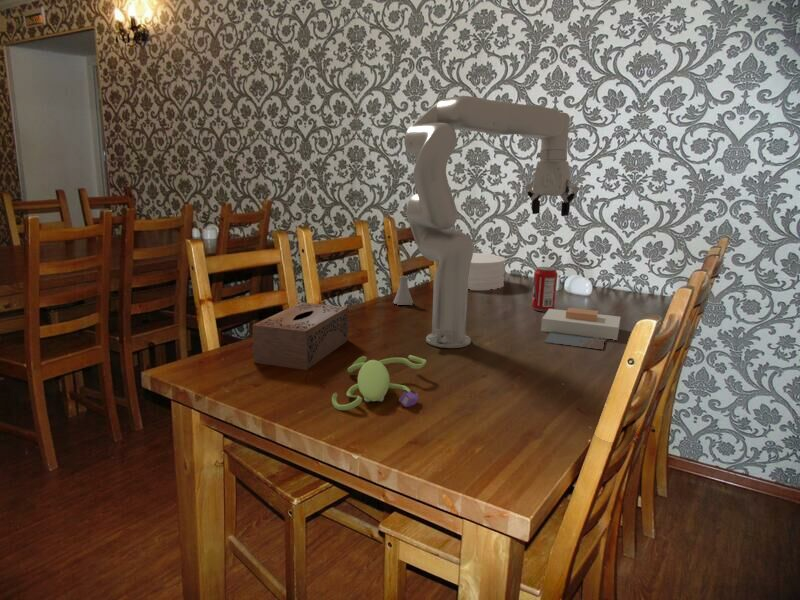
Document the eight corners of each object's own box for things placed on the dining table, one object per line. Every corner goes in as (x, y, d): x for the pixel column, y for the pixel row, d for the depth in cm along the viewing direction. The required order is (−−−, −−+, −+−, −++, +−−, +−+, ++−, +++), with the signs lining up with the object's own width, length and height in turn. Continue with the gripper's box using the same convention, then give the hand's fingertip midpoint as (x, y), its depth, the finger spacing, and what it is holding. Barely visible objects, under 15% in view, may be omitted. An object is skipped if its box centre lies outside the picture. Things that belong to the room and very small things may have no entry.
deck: (616, 340, 167) (618, 327, 166) (540, 331, 175) (541, 318, 174) (619, 329, 180) (620, 316, 179) (548, 320, 188) (549, 308, 187)
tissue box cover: (306, 371, 138) (305, 331, 135) (254, 363, 142) (252, 324, 139) (348, 341, 161) (348, 307, 159) (302, 335, 166) (301, 302, 163)
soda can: (545, 313, 196) (549, 270, 193) (527, 309, 202) (530, 267, 199) (558, 310, 202) (562, 268, 198) (540, 306, 207) (543, 265, 204)
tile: (596, 321, 172) (596, 315, 172) (565, 318, 175) (566, 311, 175) (597, 317, 177) (598, 310, 177) (568, 313, 181) (568, 307, 180)
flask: (416, 304, 206) (417, 276, 204) (406, 307, 200) (407, 279, 198) (400, 301, 210) (400, 274, 208) (389, 304, 204) (389, 277, 202)
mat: (603, 350, 157) (603, 349, 157) (544, 342, 164) (544, 341, 163) (606, 339, 168) (606, 338, 168) (550, 332, 174) (550, 331, 174)
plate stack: (434, 288, 234) (435, 260, 231) (441, 276, 261) (442, 251, 258) (504, 292, 230) (505, 264, 227) (503, 279, 256) (505, 254, 254)
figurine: (427, 373, 139) (427, 351, 138) (418, 419, 113) (419, 392, 112) (352, 368, 141) (352, 346, 140) (327, 412, 115) (327, 386, 114)
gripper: (521, 156, 171) (518, 213, 176) (574, 156, 160) (570, 217, 164) (534, 156, 177) (531, 212, 181) (587, 156, 165) (582, 215, 169)
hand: (550, 214), depth 172 cm, fingers open, 9 cm apart
